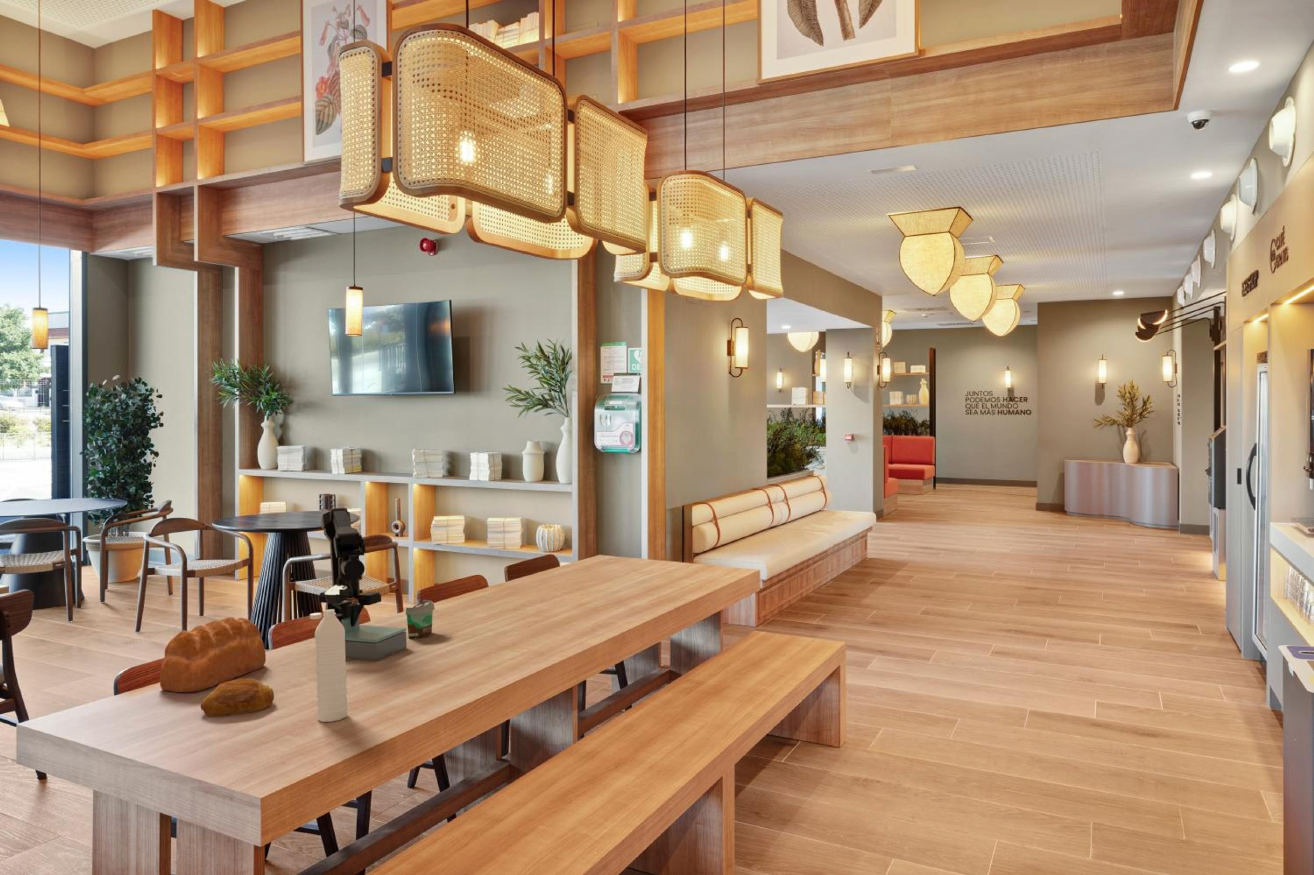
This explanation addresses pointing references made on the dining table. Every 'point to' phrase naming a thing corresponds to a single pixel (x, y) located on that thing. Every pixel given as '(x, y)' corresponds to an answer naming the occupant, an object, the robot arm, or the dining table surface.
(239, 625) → the bread
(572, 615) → the dining table surface
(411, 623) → the food container
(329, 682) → the water bottle
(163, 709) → the dining table surface
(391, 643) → the parts box
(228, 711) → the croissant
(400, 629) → the lid
